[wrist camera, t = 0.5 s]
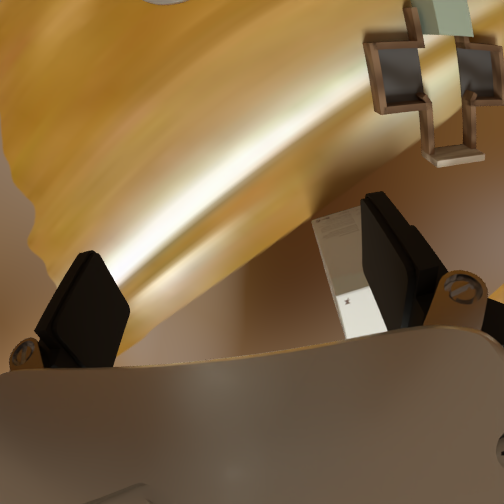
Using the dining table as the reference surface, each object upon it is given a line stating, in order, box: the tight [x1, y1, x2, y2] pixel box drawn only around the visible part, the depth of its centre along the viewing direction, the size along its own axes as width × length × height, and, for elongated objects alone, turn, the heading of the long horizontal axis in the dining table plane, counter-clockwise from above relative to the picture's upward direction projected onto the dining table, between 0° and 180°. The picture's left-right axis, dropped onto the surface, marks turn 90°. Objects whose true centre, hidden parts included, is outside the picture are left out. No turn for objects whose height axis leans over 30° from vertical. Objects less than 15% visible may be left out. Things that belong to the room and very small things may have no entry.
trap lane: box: [363, 7, 504, 168], centre depth 34 cm, size 23×24×5 cm
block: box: [411, 0, 474, 37], centre depth 28 cm, size 6×6×6 cm
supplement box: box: [311, 205, 387, 339], centre depth 45 cm, size 13×13×18 cm
